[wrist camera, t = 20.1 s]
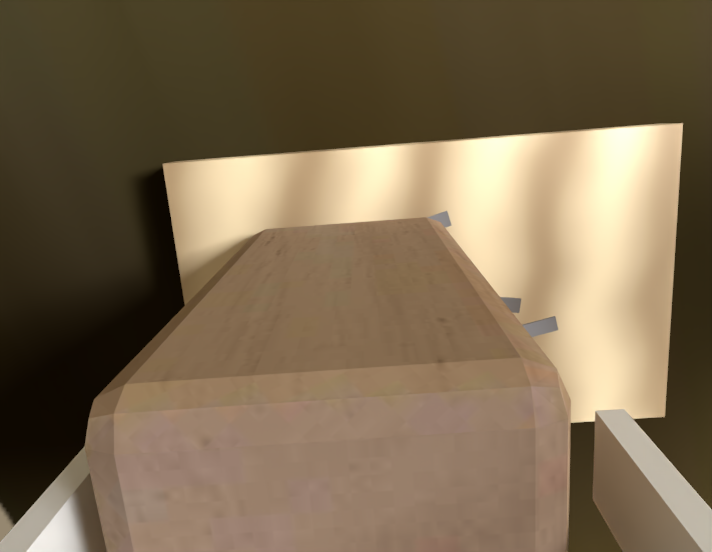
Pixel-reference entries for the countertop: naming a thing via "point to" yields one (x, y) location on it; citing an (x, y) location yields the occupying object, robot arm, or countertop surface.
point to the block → (337, 408)
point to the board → (488, 233)
